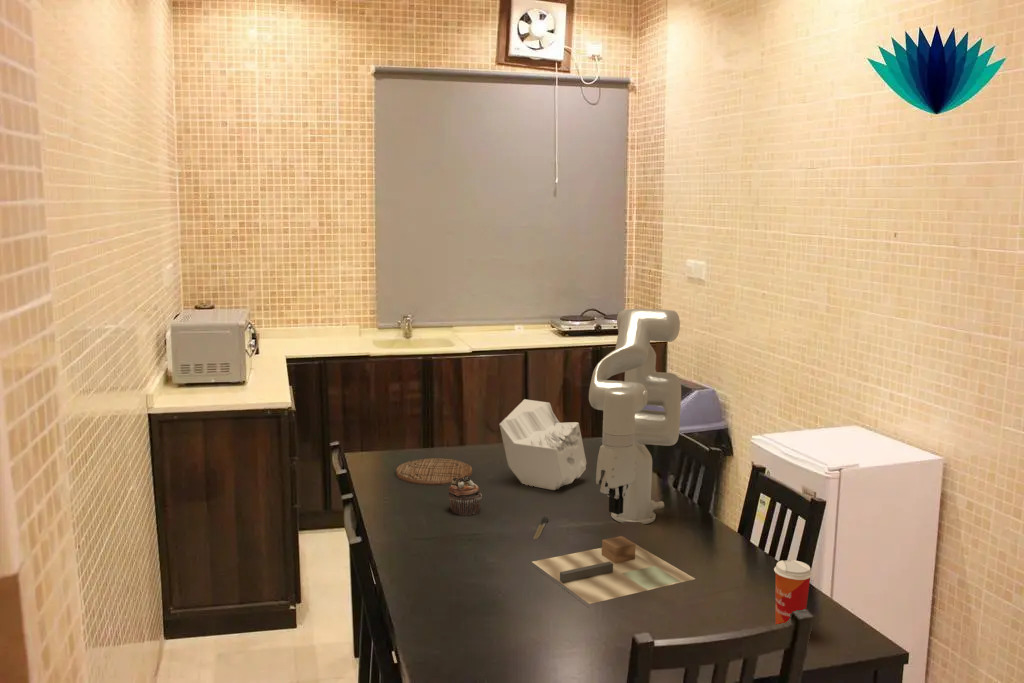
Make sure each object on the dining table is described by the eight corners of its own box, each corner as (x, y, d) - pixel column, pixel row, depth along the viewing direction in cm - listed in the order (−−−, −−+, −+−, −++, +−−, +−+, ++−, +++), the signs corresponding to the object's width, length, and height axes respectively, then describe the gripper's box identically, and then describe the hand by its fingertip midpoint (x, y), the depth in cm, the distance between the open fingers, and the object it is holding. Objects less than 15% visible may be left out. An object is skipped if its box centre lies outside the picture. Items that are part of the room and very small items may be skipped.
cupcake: (462, 519, 249) (462, 485, 248) (442, 510, 256) (442, 476, 255) (488, 511, 255) (489, 478, 254) (467, 503, 263) (468, 470, 261)
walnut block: (621, 550, 225) (621, 536, 224) (635, 559, 220) (635, 544, 219) (601, 554, 222) (602, 539, 222) (615, 563, 217) (615, 548, 216)
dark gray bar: (609, 569, 213) (609, 561, 213) (612, 571, 212) (613, 563, 211) (559, 580, 206) (560, 572, 206) (563, 582, 205) (563, 574, 205)
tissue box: (591, 472, 285) (579, 406, 275) (568, 501, 273) (555, 433, 263) (537, 463, 296) (524, 398, 285) (513, 490, 284) (499, 424, 274)
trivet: (469, 487, 278) (469, 481, 278) (391, 485, 279) (391, 480, 278) (474, 464, 303) (474, 459, 303) (401, 463, 303) (401, 457, 303)
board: (631, 545, 231) (631, 541, 231) (695, 582, 209) (695, 578, 209) (531, 565, 217) (531, 561, 217) (589, 608, 195) (589, 603, 195)
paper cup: (765, 620, 190) (768, 559, 188) (799, 619, 191) (803, 558, 189) (778, 638, 182) (783, 574, 180) (814, 637, 183) (819, 573, 181)
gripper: (626, 430, 218) (624, 501, 221) (585, 441, 208) (583, 515, 211) (650, 437, 213) (647, 509, 216) (609, 448, 203) (607, 524, 206)
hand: (615, 512), depth 213 cm, fingers closed
